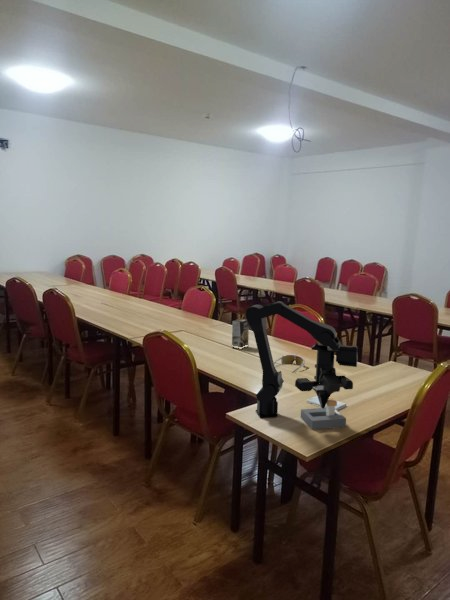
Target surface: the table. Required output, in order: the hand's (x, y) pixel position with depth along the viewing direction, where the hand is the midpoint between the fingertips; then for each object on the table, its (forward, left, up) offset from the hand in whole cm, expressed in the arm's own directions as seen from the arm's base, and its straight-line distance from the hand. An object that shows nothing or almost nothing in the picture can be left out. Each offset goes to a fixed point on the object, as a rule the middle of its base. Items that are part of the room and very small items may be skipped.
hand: (322, 408), depth 148 cm
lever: (+3, 0, -4) cm, 5 cm away
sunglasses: (+12, +65, -6) cm, 67 cm away
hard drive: (+9, +16, -6) cm, 19 cm away
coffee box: (-3, +108, -5) cm, 108 cm away
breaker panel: (0, 0, -5) cm, 5 cm away
